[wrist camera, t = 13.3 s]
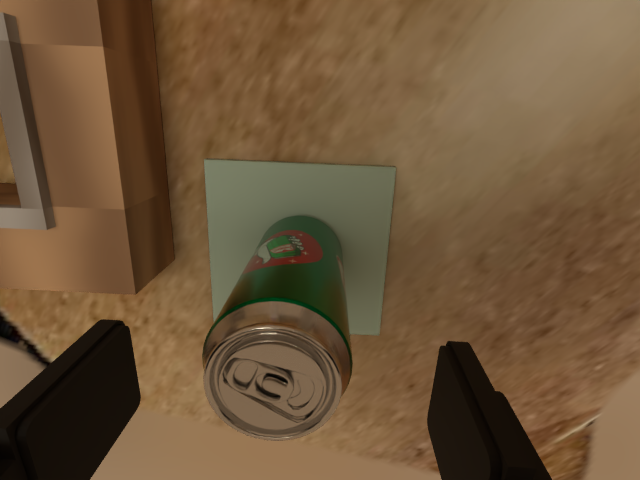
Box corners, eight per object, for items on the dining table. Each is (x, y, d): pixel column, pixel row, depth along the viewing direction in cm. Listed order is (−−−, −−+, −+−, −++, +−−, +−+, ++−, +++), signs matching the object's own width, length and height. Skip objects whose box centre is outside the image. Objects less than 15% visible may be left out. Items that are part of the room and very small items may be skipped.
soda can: (320, 302, 24) (312, 471, 12) (247, 270, 23) (169, 416, 12) (356, 234, 22) (384, 356, 11) (279, 198, 22) (224, 287, 10)
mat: (394, 166, 22) (396, 167, 21) (378, 330, 25) (379, 335, 24) (207, 158, 22) (203, 159, 21) (216, 322, 25) (213, 327, 25)
